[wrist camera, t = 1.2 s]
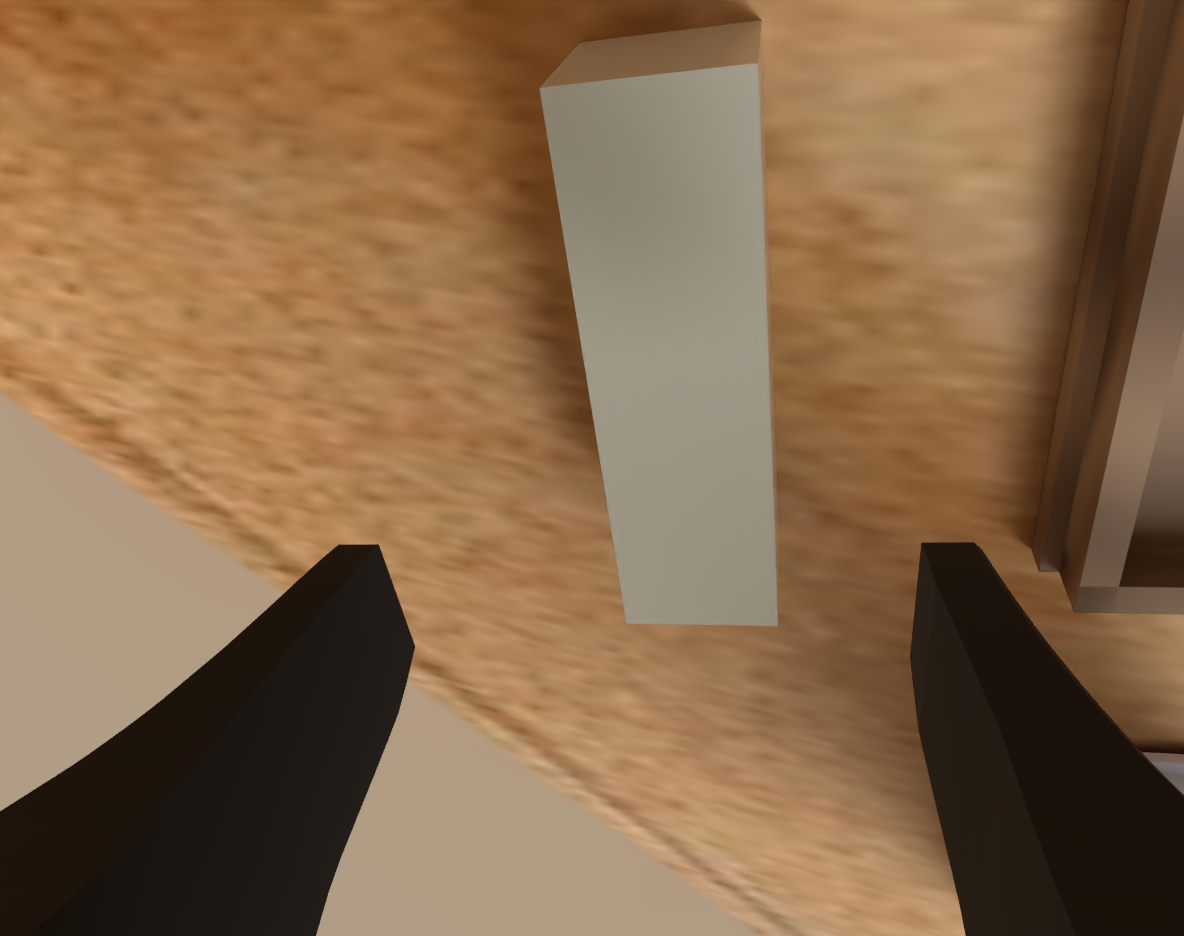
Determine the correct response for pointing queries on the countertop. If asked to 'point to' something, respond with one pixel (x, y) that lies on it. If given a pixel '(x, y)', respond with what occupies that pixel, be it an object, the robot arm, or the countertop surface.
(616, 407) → the grey rectangular block
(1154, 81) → the tray
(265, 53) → the countertop surface
